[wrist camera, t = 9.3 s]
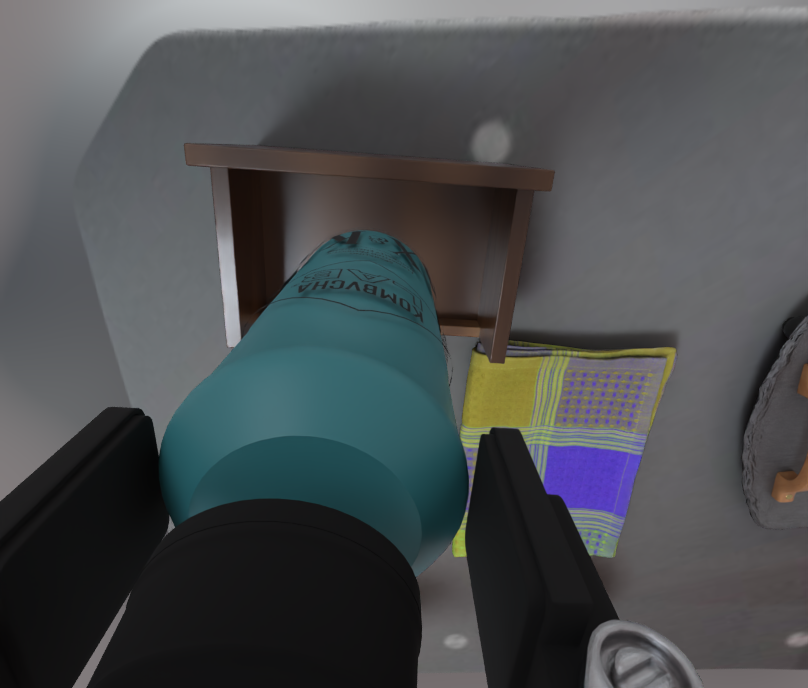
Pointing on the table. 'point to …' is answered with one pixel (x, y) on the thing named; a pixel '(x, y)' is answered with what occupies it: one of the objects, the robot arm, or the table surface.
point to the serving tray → (780, 438)
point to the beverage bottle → (305, 491)
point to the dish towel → (570, 424)
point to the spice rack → (372, 225)
